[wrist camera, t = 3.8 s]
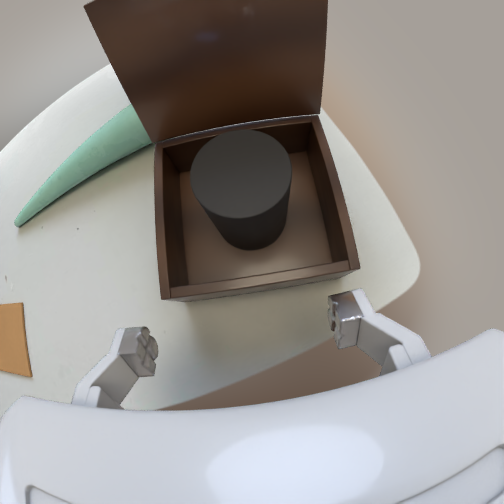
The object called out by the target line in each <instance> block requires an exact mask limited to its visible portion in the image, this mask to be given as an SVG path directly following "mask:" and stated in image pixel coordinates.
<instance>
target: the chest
mask: <svg viewBox="0 0 504 504" xmlns="http://www.w3.org/2000/svg"><path fill="white" fill-rule="evenodd" d="M240 129H248V130H255V131H260V132H263V133H265V134H267V135H269V136H271V137H273V138H274V139H276V140H277V141H278V142H279V143H280V144H281V145H282V146H283V147H284V148H285V150H286V151H287V153H288V155H289V157H290V160H291V164H292V181H291V188H290V196H289V203H288V210H287V217H286V224H285V227H284V229H283V232H282V233H281V235H280V236H279V237H278V239H277V240H276V241H275V242H273V243H272V244H271V245H269V246H267V247H265V248H262V249H258V250H242V249H239V248H236V247H234V246H232V245H231V244H229V243H228V242H227V241H226V240H225V239H224V238H223V237H222V235H221V234H220V232H219V231H218V229H217V228H216V226H215V225H214V224H213V222H212V221H211V219H210V218H209V216H208V215H207V213H206V212H205V211H204V209H203V208H202V206H201V205H200V203H199V202H198V200H197V199H196V197H195V196H194V193H193V191H192V188H191V184H190V171H191V167H192V163H193V161H194V159H195V157H196V155H197V153H198V152H199V151H200V149H201V148H202V147H203V146H204V145H205V144H206V143H207V142H209V141H210V140H211V139H213V138H214V137H216V136H218V135H220V134H222V133H225V132H228V131H233V130H240ZM154 194H155V227H156V245H157V260H158V272H159V283H160V293H161V299H162V300H170V301H181V302H189V301H197V300H204V299H212V298H219V297H226V296H233V295H240V294H247V293H253V292H260V291H266V290H273V289H279V288H285V287H291V286H297V285H303V284H308V283H314V282H320V281H325V280H331V279H336V278H341V277H343V276H346V275H348V274H350V273H352V272H354V271H356V270H358V269H360V263H359V258H358V253H357V249H356V244H355V240H354V235H353V231H352V227H351V223H350V218H349V214H348V211H347V207H346V203H345V199H344V195H343V192H342V188H341V185H340V181H339V178H338V174H337V171H336V168H335V164H334V161H333V158H332V155H331V152H330V149H329V145H328V142H327V139H326V136H325V134H324V131H323V128H322V125H321V122H320V119H319V117H318V115H311V116H299V117H289V118H281V119H272V120H265V121H258V122H251V123H245V124H239V125H233V126H228V127H222V128H217V129H212V130H207V131H203V132H198V133H193V134H189V135H185V136H181V137H177V138H173V139H169V140H165V141H161V142H158V143H155V161H154Z"/></svg>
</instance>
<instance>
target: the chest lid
mask: <svg viewBox="0 0 504 504" xmlns="http://www.w3.org/2000/svg"><path fill="white" fill-rule="evenodd" d="M84 9H85V10H86V13H87V15H88V17H89V20H90V22H91V24H92V26H93V28H94V30H95V32H96V34H97V36H98V38H99V41H100V43H101V44H102V47H103V49H104V51H105V53H106V55H107V57H108V59H109V61H110V63H111V65H112V67H113V69H114V71H115V73H116V75H117V77H118V79H119V81H120V83H121V85H122V87H123V89H124V91H125V93H126V94H127V96H128V98H129V100H130V102H131V104H132V106H133V108H134V110H135V112H136V114H137V115H138V117H139V119H140V121H141V123H142V125H143V127H144V128H145V130H146V132H147V134H148V136H149V138H150V140H151V141H152V143H155V142H158V141H162V140H166V139H170V138H173V137H177V136H182V135H186V134H190V133H194V132H199V131H203V130H208V129H213V128H218V127H223V126H228V125H234V124H240V123H246V122H252V121H259V120H266V119H274V118H282V117H291V116H301V115H313V114H320V108H321V97H322V86H323V75H324V62H325V49H326V31H327V10H328V0H93V1H91V2H89V3H87V4H86V5H84Z"/></svg>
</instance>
